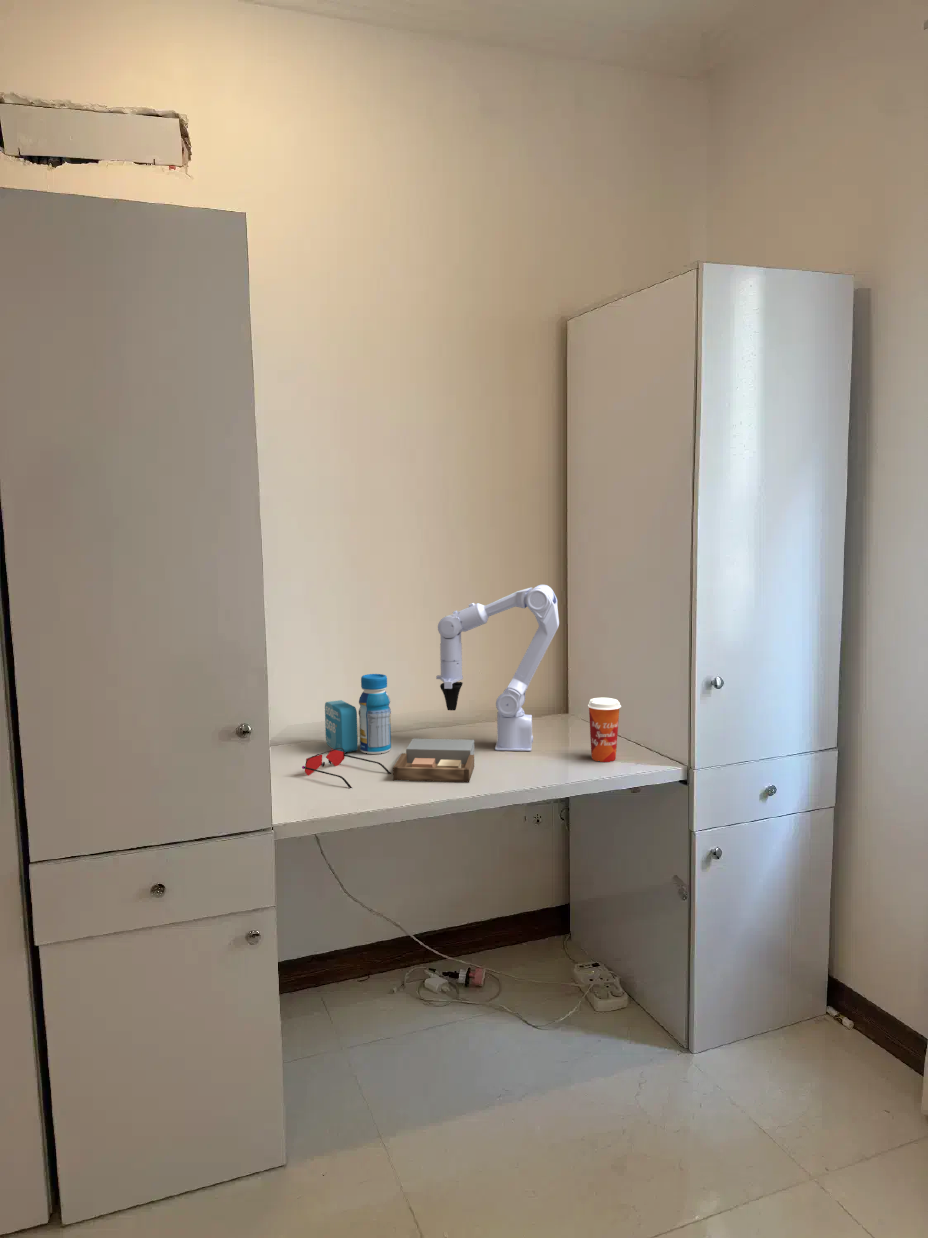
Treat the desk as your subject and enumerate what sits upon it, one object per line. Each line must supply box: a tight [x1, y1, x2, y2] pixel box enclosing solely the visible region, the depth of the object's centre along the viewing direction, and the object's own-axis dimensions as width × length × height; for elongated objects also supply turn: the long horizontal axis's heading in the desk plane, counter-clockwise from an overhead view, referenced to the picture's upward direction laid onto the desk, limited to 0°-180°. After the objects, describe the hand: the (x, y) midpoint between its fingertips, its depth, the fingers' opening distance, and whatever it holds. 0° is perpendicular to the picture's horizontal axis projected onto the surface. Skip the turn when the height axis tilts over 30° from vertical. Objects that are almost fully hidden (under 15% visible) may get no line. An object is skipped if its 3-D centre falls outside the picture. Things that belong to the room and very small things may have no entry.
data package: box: [324, 699, 359, 754], centre depth 233 cm, size 12×4×12 cm, turn 30°
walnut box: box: [392, 752, 475, 783], centre depth 211 cm, size 18×12×3 cm
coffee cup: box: [587, 697, 622, 763], centre depth 221 cm, size 8×8×15 cm
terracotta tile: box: [412, 758, 435, 768], centre depth 212 cm, size 5×5×2 cm
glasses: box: [301, 748, 392, 789], centre depth 210 cm, size 14×16×5 cm
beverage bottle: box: [358, 673, 392, 755], centre depth 230 cm, size 8×8×20 cm
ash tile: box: [437, 760, 461, 768], centre depth 211 cm, size 5×5×2 cm
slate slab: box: [405, 738, 475, 764], centre depth 222 cm, size 16×10×4 cm, turn 84°
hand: (451, 709), depth 236 cm, fingers closed
